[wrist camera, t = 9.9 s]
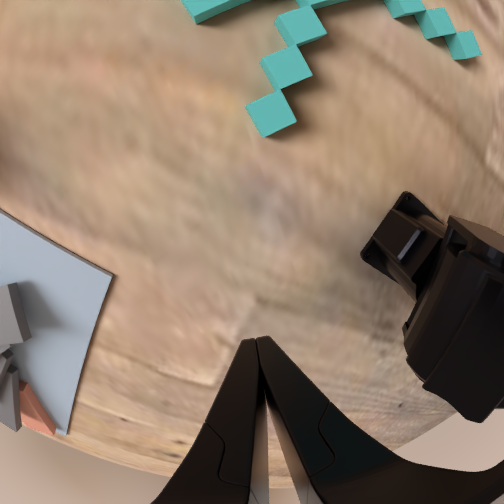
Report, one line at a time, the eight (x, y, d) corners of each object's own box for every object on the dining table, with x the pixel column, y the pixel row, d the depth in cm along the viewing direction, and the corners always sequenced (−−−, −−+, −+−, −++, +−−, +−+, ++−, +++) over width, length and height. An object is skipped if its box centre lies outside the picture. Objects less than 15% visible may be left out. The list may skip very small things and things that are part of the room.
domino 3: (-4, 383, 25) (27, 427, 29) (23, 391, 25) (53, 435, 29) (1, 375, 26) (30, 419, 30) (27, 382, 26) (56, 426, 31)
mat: (113, 274, 22) (111, 277, 22) (66, 434, 32) (65, 436, 32) (-27, 190, 17) (-30, 192, 17) (-20, 383, 28) (-21, 385, 27)
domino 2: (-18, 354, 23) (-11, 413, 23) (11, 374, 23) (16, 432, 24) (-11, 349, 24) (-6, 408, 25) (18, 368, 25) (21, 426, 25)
